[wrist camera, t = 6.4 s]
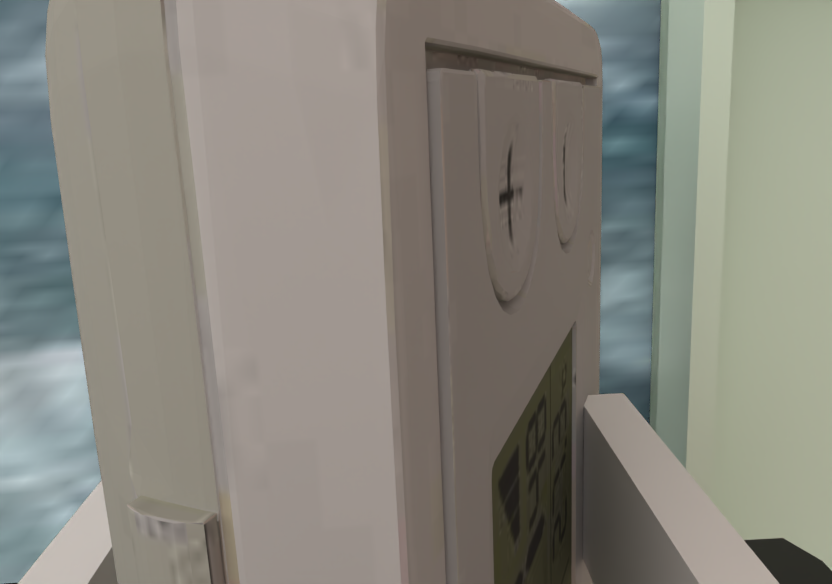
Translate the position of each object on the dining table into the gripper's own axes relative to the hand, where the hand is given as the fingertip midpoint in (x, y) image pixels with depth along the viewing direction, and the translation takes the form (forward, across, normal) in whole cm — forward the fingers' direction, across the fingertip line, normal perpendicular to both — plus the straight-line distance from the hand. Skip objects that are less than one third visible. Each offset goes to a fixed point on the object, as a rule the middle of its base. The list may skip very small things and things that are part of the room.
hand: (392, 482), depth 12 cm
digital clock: (+4, +1, 0) cm, 4 cm away
